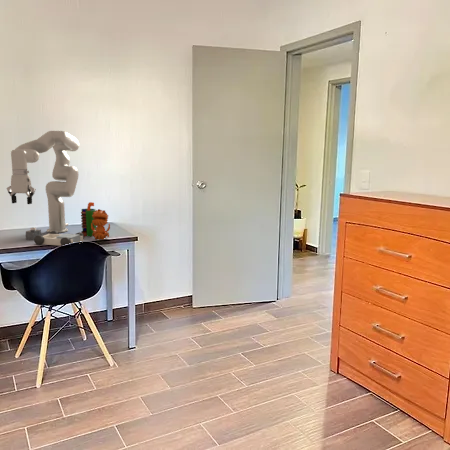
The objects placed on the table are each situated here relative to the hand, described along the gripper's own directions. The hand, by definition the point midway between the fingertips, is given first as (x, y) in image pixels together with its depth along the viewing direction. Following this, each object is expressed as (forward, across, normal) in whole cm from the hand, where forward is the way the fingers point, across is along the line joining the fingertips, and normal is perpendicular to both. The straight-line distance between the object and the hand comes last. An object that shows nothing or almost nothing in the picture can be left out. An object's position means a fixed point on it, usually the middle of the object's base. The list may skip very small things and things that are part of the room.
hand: (21, 203), depth 247 cm
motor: (+22, -24, -28) cm, 43 cm away
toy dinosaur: (+22, -36, -20) cm, 47 cm away
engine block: (+22, 0, -8) cm, 24 cm away
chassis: (+22, -20, -3) cm, 30 cm away
